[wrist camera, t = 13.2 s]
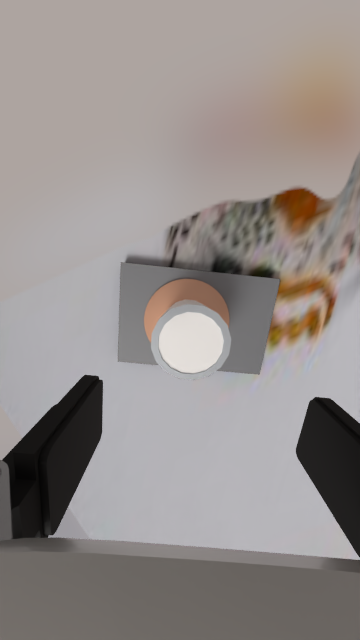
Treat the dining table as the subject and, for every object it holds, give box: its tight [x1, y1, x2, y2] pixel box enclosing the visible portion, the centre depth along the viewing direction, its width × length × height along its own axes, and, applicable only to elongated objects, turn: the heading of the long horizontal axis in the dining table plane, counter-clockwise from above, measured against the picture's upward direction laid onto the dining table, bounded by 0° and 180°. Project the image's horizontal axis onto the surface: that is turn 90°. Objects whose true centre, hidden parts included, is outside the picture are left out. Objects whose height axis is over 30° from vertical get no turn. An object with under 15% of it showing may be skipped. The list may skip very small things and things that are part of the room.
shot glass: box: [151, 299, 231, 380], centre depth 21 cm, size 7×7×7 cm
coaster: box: [144, 279, 229, 342], centre depth 24 cm, size 10×10×1 cm
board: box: [118, 262, 280, 374], centre depth 25 cm, size 18×12×2 cm, turn 84°
